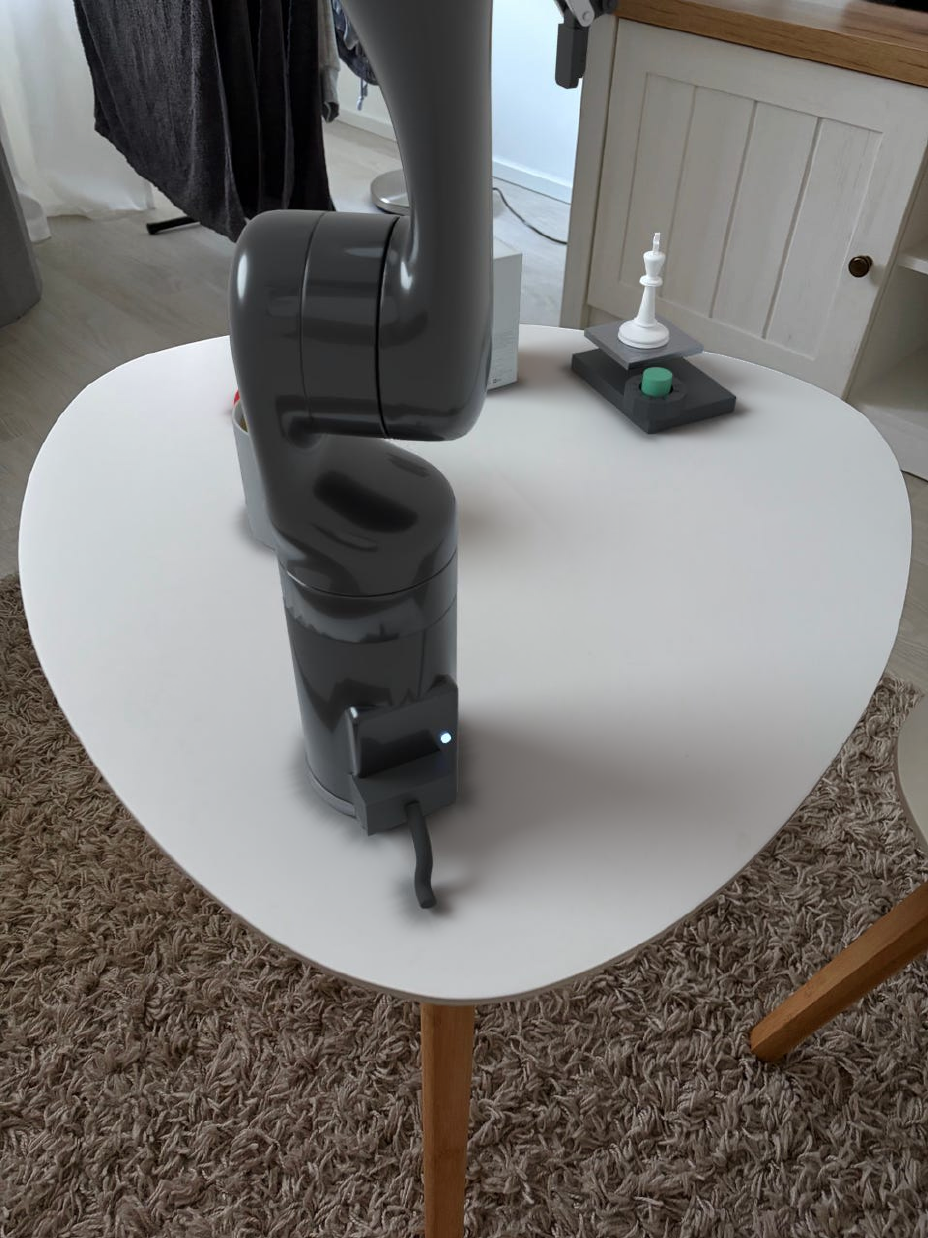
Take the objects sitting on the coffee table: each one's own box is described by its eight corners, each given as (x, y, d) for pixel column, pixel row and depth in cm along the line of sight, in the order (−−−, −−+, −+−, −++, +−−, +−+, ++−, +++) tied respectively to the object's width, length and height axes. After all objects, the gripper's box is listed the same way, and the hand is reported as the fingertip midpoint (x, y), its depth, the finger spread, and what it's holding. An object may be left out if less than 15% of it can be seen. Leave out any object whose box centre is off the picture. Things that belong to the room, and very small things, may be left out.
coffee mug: (371, 552, 77) (364, 441, 70) (243, 556, 77) (223, 445, 70) (371, 459, 87) (365, 354, 80) (258, 462, 87) (242, 358, 80)
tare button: (675, 394, 90) (678, 377, 89) (651, 400, 89) (654, 383, 88) (659, 382, 92) (661, 364, 90) (635, 387, 91) (638, 370, 90)
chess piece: (667, 327, 97) (683, 224, 91) (670, 350, 94) (687, 245, 87) (617, 324, 98) (629, 222, 91) (618, 347, 94) (630, 242, 87)
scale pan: (702, 352, 95) (704, 345, 94) (627, 370, 92) (628, 362, 92) (656, 319, 100) (657, 312, 100) (583, 335, 98) (584, 328, 97)
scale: (738, 416, 93) (746, 382, 91) (642, 441, 90) (647, 407, 87) (651, 350, 103) (656, 318, 101) (561, 371, 100) (564, 338, 97)
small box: (518, 383, 98) (524, 252, 89) (462, 398, 95) (463, 265, 87) (477, 349, 103) (479, 223, 94) (423, 363, 101) (420, 235, 92)
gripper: (439, -216, 52) (440, 116, 63) (663, -214, 57) (629, 94, 68) (387, -218, 58) (396, 89, 68) (596, -217, 62) (574, 71, 73)
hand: (512, 91), depth 68 cm, fingers open, 8 cm apart
